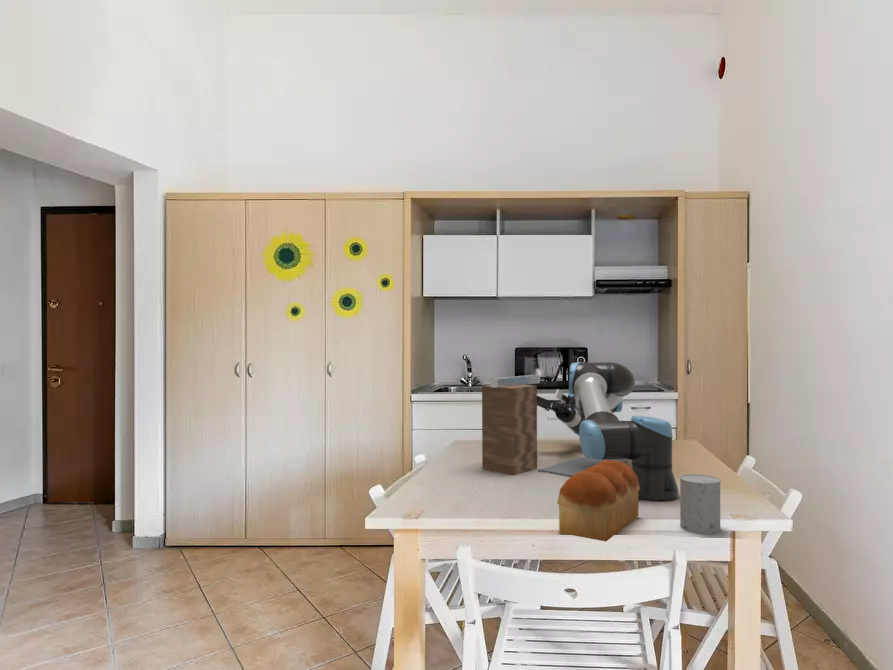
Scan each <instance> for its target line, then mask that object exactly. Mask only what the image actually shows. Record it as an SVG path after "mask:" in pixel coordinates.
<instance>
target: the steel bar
mask: <svg viewBox="0 0 893 670" xmlns="http://www.w3.org/2000/svg"><path fill="white" fill-rule="evenodd" d="M489 382H490V383H489V385H490V387H494V388H499V387H508V386H518V385H535V384H541V374H528V375H527V374H526V375H518V376H516V375H515V376H505V377H494V378H490V380H489Z"/></svg>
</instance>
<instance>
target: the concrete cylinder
mask: <svg viewBox="0 0 893 670" xmlns="http://www.w3.org/2000/svg"><path fill="white" fill-rule="evenodd" d="M679 483H680V485H679V487H680V488H679V493H680V494H679V496H680V498H679V502H680V503H679V506H680V509H679V510H680V511H679V512H680V513H679V515H680V521H679V523H680V524H679V526H680V529H683V530H684V531H687V532H691V533H696V534H707V535H709V534H717V533H719V532H721V531H722V528H721V478H718V477H716V476H712V475H708V474H707V475H705V474H691V473H690V474H683V475H680V476H679Z"/></svg>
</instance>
